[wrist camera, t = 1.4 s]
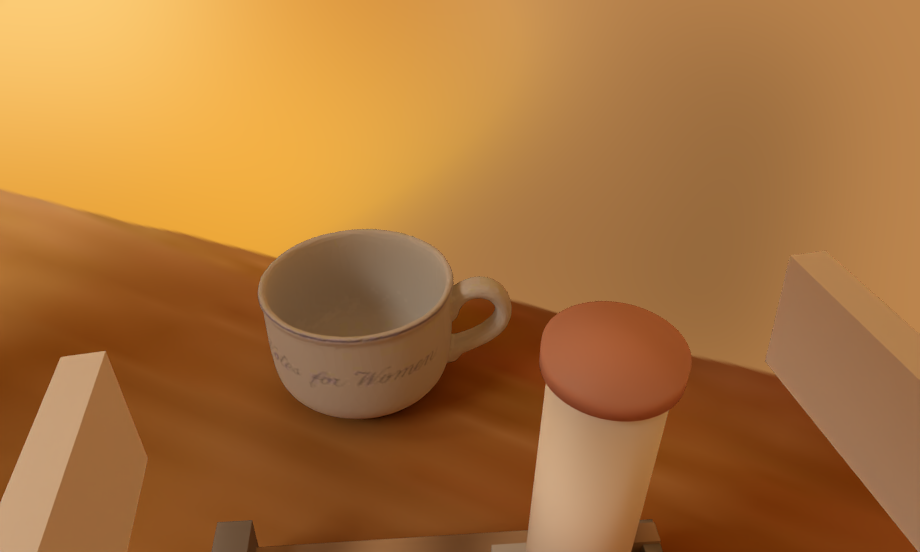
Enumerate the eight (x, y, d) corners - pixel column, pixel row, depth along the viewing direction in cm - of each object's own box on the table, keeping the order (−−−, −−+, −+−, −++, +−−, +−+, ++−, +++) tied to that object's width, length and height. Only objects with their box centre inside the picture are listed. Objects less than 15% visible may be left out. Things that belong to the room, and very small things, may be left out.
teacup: (246, 430, 43) (222, 323, 38) (312, 310, 51) (299, 211, 47) (488, 470, 41) (495, 363, 36) (515, 339, 49) (523, 238, 45)
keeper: (503, 678, 31) (532, 410, 21) (489, 571, 35) (509, 302, 25) (646, 667, 31) (738, 399, 22) (617, 562, 35) (684, 295, 25)
